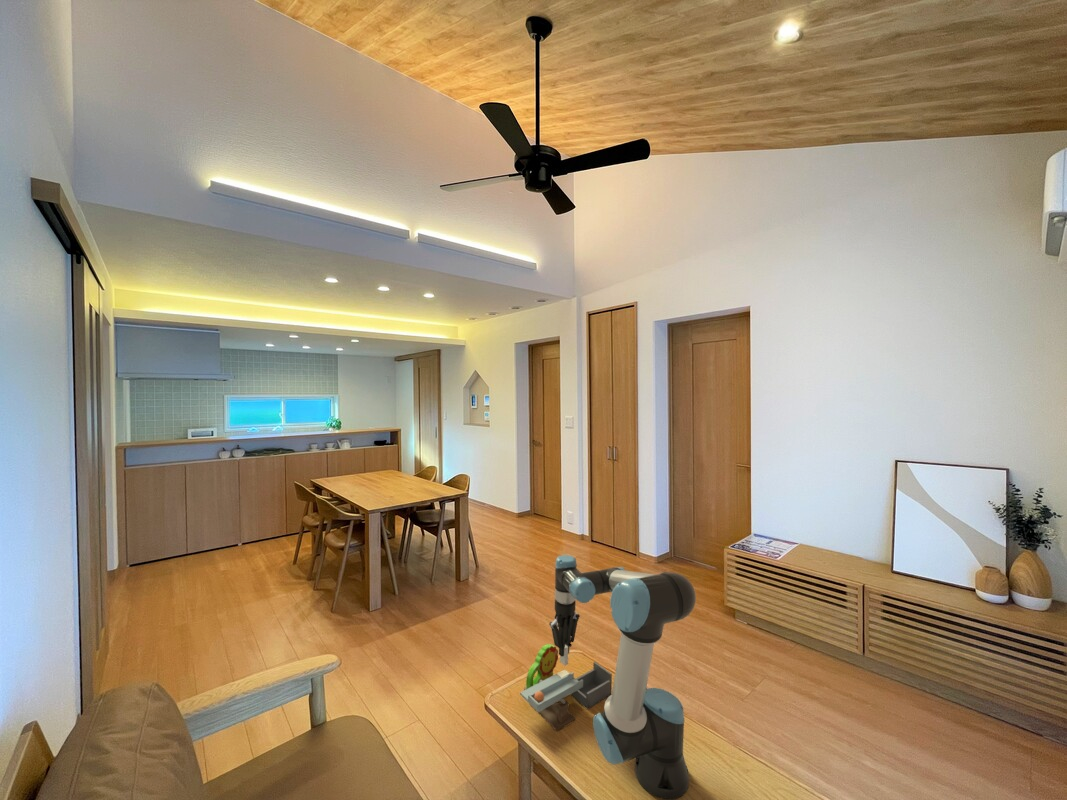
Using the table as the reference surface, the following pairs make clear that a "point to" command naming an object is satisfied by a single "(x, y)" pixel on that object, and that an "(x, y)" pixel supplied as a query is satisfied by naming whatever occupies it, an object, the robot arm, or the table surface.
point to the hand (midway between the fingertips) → (563, 662)
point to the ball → (539, 696)
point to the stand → (557, 715)
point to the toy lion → (542, 665)
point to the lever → (552, 690)
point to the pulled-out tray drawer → (594, 686)
